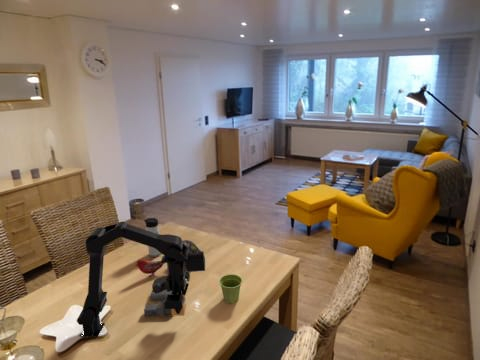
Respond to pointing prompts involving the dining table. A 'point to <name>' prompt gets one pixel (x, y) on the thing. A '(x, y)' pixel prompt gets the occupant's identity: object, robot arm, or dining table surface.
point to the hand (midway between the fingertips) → (179, 309)
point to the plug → (161, 309)
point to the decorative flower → (190, 247)
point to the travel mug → (153, 227)
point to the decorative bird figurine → (149, 266)
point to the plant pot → (230, 287)
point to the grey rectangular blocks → (151, 309)
